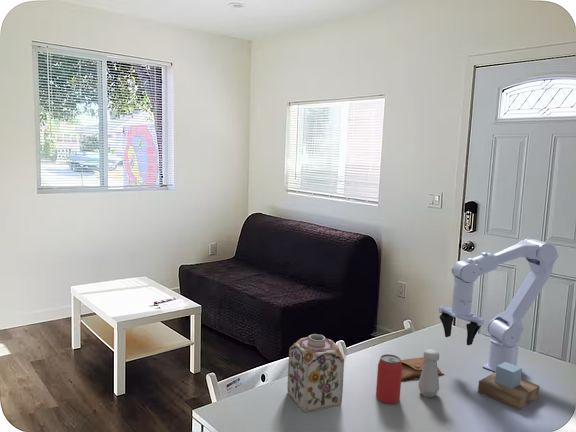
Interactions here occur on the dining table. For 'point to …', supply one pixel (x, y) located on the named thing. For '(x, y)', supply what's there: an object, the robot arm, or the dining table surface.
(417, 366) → the sunglasses case
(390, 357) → the beer can
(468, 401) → the dining table surface
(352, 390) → the dining table surface
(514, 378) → the blue cube
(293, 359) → the decorative jar
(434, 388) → the salt shaker
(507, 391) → the wooden block
